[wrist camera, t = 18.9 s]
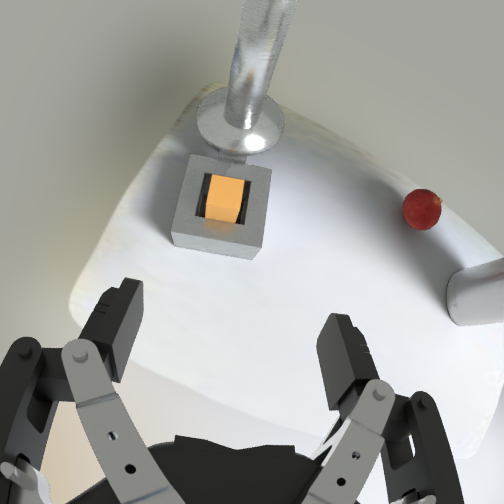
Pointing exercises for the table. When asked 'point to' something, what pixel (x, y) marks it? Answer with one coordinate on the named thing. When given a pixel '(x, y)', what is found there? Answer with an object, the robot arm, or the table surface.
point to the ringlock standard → (237, 137)
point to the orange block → (224, 198)
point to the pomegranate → (422, 209)
